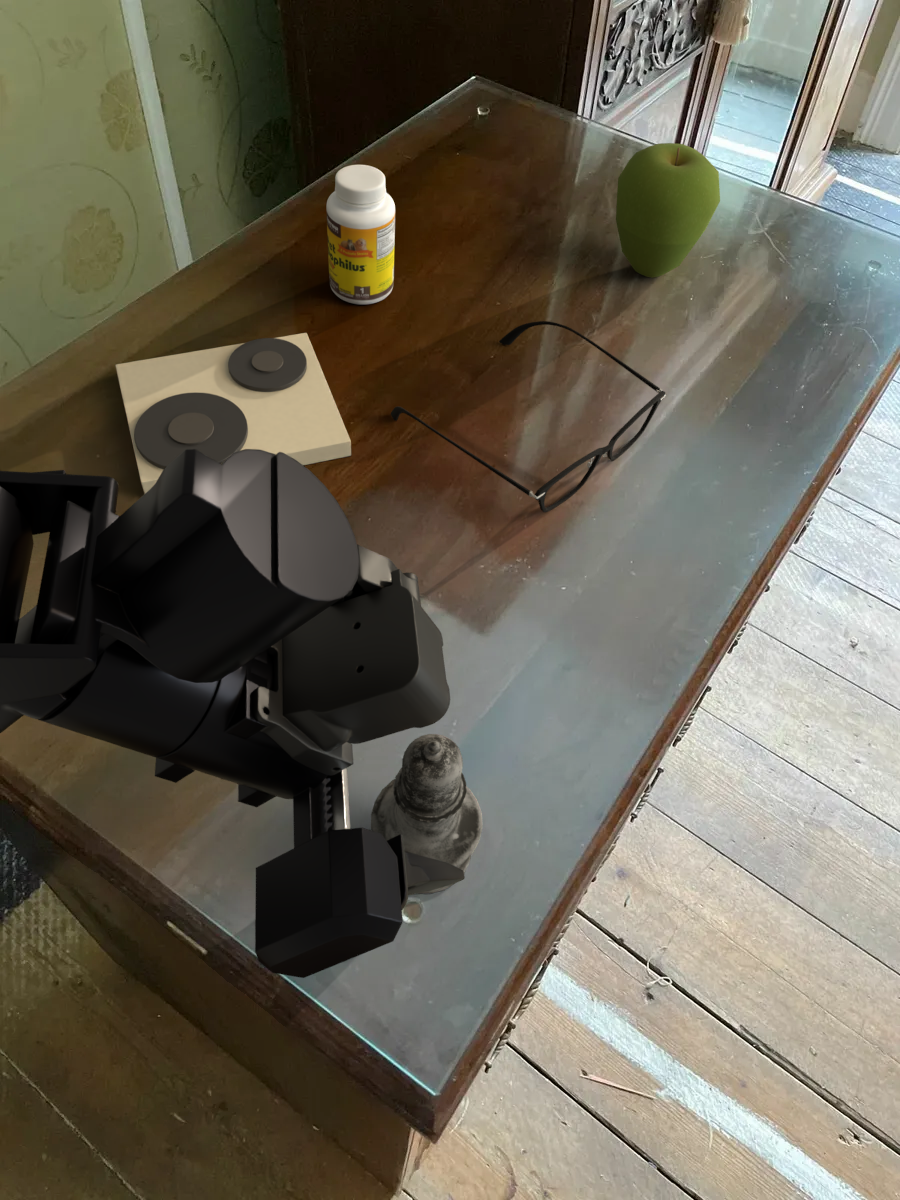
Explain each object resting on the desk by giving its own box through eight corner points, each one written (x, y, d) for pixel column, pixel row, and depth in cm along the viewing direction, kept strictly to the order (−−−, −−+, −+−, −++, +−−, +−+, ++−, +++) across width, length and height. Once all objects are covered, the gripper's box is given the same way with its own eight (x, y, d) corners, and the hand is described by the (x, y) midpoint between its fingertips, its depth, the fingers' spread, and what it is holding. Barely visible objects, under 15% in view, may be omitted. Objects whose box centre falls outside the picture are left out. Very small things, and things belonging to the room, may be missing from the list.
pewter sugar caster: (355, 821, 53) (350, 712, 44) (450, 783, 55) (465, 671, 46) (396, 916, 50) (400, 823, 41) (495, 873, 52) (521, 773, 43)
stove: (145, 498, 67) (139, 477, 65) (119, 379, 74) (113, 358, 73) (351, 456, 71) (351, 436, 69) (307, 347, 78) (306, 326, 76)
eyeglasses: (532, 538, 67) (539, 499, 64) (373, 426, 73) (373, 385, 70) (666, 426, 75) (678, 386, 71) (513, 332, 81) (518, 292, 77)
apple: (586, 277, 86) (610, 153, 77) (622, 234, 91) (649, 111, 81) (675, 311, 84) (711, 186, 75) (708, 264, 88) (746, 142, 79)
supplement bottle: (316, 289, 83) (309, 177, 74) (358, 262, 85) (356, 150, 77) (365, 316, 81) (364, 204, 73) (407, 287, 84) (410, 176, 75)
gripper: (329, 842, 28) (623, 928, 38) (311, 406, 39) (542, 563, 49) (111, 952, 33) (419, 1002, 43) (150, 542, 44) (388, 658, 54)
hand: (446, 788), depth 47 cm, fingers open, 9 cm apart
